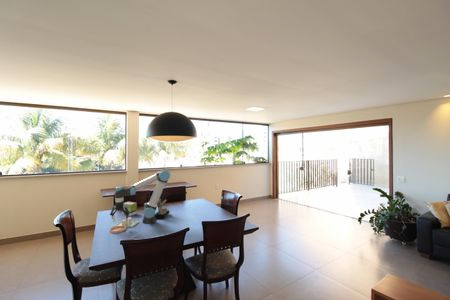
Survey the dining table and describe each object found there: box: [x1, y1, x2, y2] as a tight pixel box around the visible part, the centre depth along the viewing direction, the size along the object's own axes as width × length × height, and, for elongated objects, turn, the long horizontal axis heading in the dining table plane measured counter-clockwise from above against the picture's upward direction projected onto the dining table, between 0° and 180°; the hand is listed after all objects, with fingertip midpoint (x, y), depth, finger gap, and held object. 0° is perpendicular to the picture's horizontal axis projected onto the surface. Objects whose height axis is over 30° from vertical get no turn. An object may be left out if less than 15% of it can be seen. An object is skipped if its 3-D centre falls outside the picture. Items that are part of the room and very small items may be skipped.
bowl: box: [109, 226, 127, 234], centre depth 216 cm, size 15×15×2 cm
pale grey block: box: [121, 218, 128, 226], centre depth 229 cm, size 4×4×6 cm
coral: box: [155, 198, 170, 219], centre depth 264 cm, size 25×20×22 cm
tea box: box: [122, 201, 138, 217], centre depth 272 cm, size 15×10×15 cm, turn 66°
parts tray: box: [112, 220, 140, 228], centre depth 232 cm, size 21×16×2 cm
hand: (120, 221), depth 220 cm, fingers open, 13 cm apart
